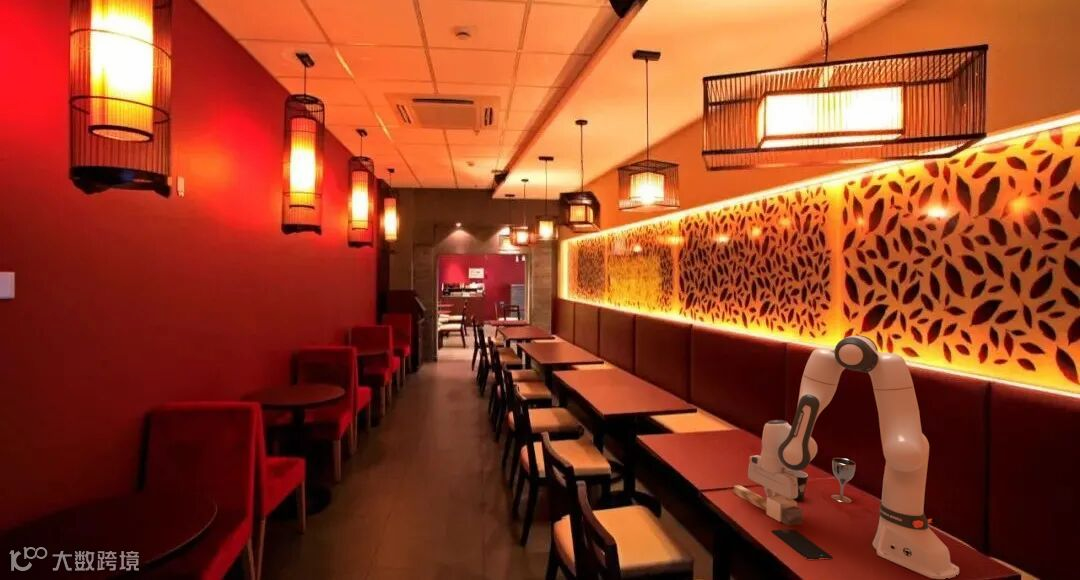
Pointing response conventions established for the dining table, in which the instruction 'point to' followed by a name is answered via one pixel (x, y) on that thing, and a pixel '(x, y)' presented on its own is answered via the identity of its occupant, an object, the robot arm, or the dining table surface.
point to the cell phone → (801, 544)
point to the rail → (789, 514)
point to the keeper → (778, 506)
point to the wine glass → (843, 475)
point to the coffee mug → (800, 483)
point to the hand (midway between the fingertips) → (770, 500)
